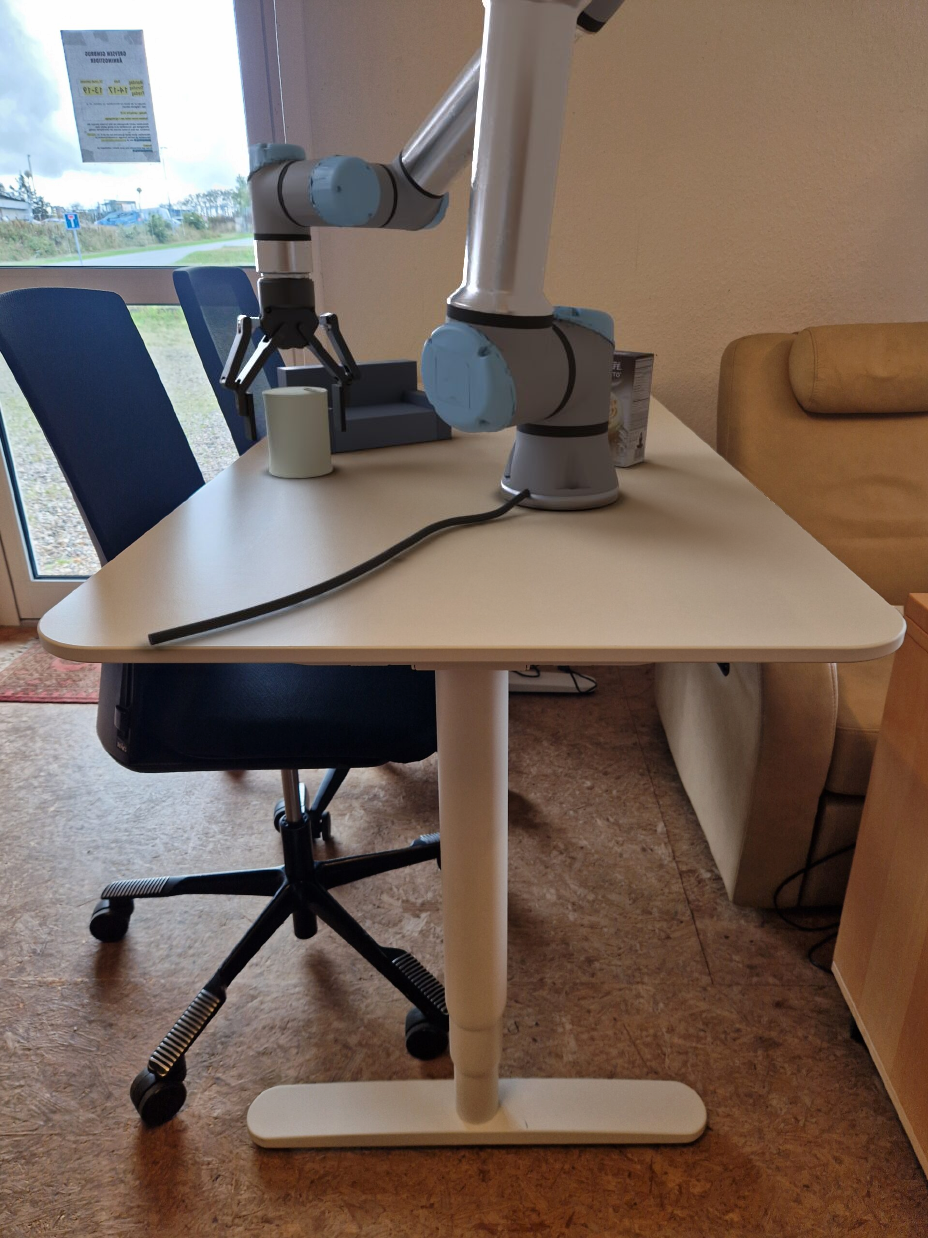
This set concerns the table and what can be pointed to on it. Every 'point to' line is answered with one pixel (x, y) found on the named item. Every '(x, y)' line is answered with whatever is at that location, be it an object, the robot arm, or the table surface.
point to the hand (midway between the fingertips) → (297, 434)
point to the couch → (375, 405)
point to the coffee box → (629, 406)
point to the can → (298, 431)
